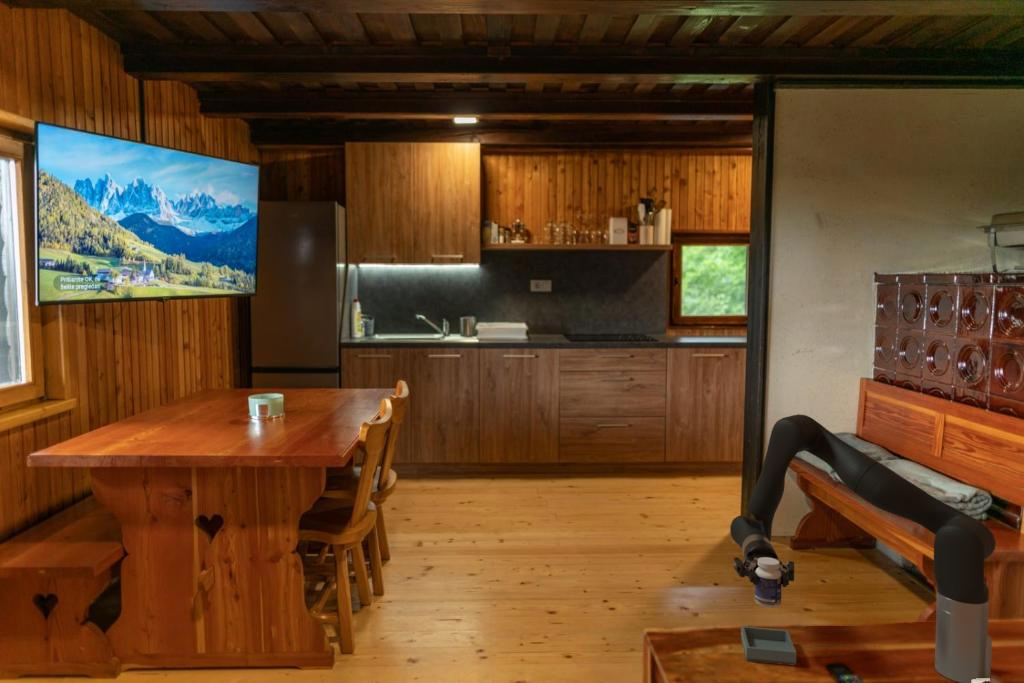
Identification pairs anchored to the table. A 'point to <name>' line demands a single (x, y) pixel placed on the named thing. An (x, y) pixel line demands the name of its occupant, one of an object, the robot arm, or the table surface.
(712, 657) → the table surface
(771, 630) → the tray
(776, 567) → the pill bottle
